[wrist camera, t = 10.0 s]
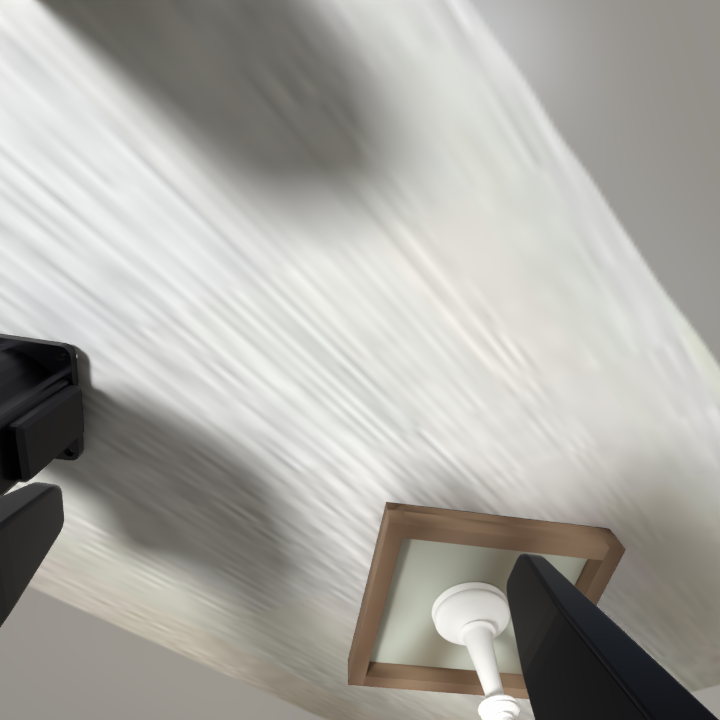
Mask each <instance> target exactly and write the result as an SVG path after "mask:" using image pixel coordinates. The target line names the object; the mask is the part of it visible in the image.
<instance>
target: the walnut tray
mask: <svg viewBox="0 0 720 720" xmlns="http://www.w3.org/2000/svg"><path fill="white" fill-rule="evenodd" d="M625 550H626V549H625V548H624V547H623V546H622V544H621V543H620V542H619V541H618V539H617V538H616V537H615V535H614V534H613V533H612V532H611V530H610V529H606V528H598V527H589V526H581V525H573V524H564V523H556V522H548V521H539V520H531V519H523V518H514V517H506V516H498V515H489V514H481V513H472V512H464V511H456V510H447V509H439V508H431V507H422V506H414V505H406V504H397V503H389V502H386V506H385V510H384V514H383V518H382V522H381V526H380V530H379V534H378V538H377V543H376V547H375V551H374V555H373V559H372V563H371V567H370V571H369V576H368V580H367V584H366V588H365V592H364V596H363V600H362V604H361V609H360V613H359V617H358V621H357V625H356V629H355V633H354V637H353V642H352V646H351V650H350V654H349V658H348V685H358V686H370V687H383V688H396V689H408V690H421V691H434V692H446V693H459V694H472V695H484V696H485V693H484V690H483V688H482V685H481V682H480V679H479V677H478V674H477V671H476V669H475V666H474V664H473V661H472V659H471V656H470V654H469V651H468V649H467V647H466V646H465V645H459V644H455V643H452V642H449V641H447V640H446V639H444V638H443V637H442V636H441V635H440V634H439V633H438V631H437V630H436V627H435V623H434V621H433V619H432V607H433V604H434V602H435V601H436V599H437V598H438V597H439V596H440V595H441V594H442V593H443V592H444V591H446V590H447V589H449V588H451V587H453V586H455V585H458V584H462V583H467V582H482V583H487V584H490V585H493V586H495V587H497V588H498V589H500V590H501V591H502V592H503V593H504V595H505V596H506V598H507V592H506V584H507V580H508V577H509V575H510V573H511V571H512V569H513V566H514V564H515V562H516V560H517V557H518V556H519V555H520V554H521V553H532V554H538V555H541V556H543V557H544V558H545V559H546V560H548V561H549V562H550V563H551V564H552V565H553V566H554V567H555V568H556V569H557V570H558V571H559V572H560V573H562V574H563V575H564V576H565V577H566V578H567V579H568V580H569V581H570V582H571V583H572V584H573V585H574V586H575V587H577V588H578V589H579V590H580V591H581V592H582V593H583V594H584V595H585V596H586V597H587V598H588V599H589V600H591V601H592V602H593V603H594V604H595V605H596V604H597V602H598V601H599V599H600V597H601V595H602V593H603V591H604V589H605V587H606V585H607V584H608V582H609V580H610V578H611V576H612V574H613V572H614V570H615V568H616V567H617V565H618V563H619V561H620V559H621V557H622V555H623V553H624V551H625ZM507 601H508V598H507ZM508 607H509V603H508ZM509 610H510V609H509ZM493 644H494V650H495V655H496V660H497V665H498V669H499V674H500V679H501V683H502V687H503V692H504V695H509V696H512V697H514V698H522V699H529V696H528V693H527V689H526V685H525V682H524V678H523V674H522V669H521V665H520V660H519V655H518V650H517V644H516V639H515V634H514V629H513V624H512V619H511V614H510V619H509V622H508V625H507V626H506V628H505V629H504V631H503V632H502V633H501V634H500V635H498V636H497V637H495V638H494V639H493Z"/></svg>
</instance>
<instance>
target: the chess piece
mask: <svg viewBox="0 0 720 720" xmlns="http://www.w3.org/2000/svg"><path fill="white" fill-rule="evenodd" d="M432 619H433V621H434V623H435V627H436V630H437V631H438V633H439V634H440V635H441V636H442V637H443V638H444V639H446V640H447V641H449V642H452V643H455V644H459V645H465V646H466V647H467V649H468V651H469V654H470V656H471V659H472V661H473V664H474V666H475V669H476V671H477V674H478V677H479V679H480V682H481V685H482V688H483V690H484V693H485V696H486V699H485V700H483V701H482V702H481V703H480V705H479V707H478V712H479V715H480V716H481V718H482V720H515V719H516V718H517V717H518V715H519V712H520V709H519V703H518V701H517V700H516V699H515V698H514V697H512V696H509V695H504V692H503V687H502V683H501V679H500V674H499V669H498V665H497V660H496V655H495V650H494V644H493V639H494V638H495V637H497V636H498V635H500V634H501V633H502V632H503V631H504V629H505V628H506V626H507V625H508V622H509V619H510V610H509V607H508V601H507V598H506V596H505V595H504V593H503V592H502V591H501V590H500V589H498V588H497V587H495V586H493V585H490V584H487V583H482V582H467V583H462V584H458V585H455V586H453V587H451V588H449V589H447V590H446V591H444V592H443V593H442V594H441V595H440V596H439V597H438V598H437V599H436V601H435V602H434V604H433V607H432Z"/></svg>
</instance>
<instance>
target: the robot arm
mask: <svg viewBox="0 0 720 720" xmlns="http://www.w3.org/2000/svg"><path fill="white" fill-rule="evenodd" d="M60 351H62V352H63V353H64V354H65V357H63V356H62V355H61V354H60ZM83 432H84V422H83V409H82V397H81V390H80V388H79V386H78V374H77V362H76V353H75V350H74V349H73V347H72V346H70V345H69V344H66V343H61V342H54V341H47V340H40V339H33V338H26V337H19V336H12V335H5V334H0V627H1V625H2V624H3V623H4V621H5V620H6V618H7V617H8V616H9V614H10V613H11V611H12V609H13V608H14V606H15V605H16V603H17V602H18V600H19V599H20V597H21V595H22V594H23V592H24V590H25V589H26V587H27V586H28V584H29V582H30V581H31V579H32V577H33V576H34V574H35V573H36V571H37V569H38V568H39V566H40V564H41V563H42V561H43V559H44V558H45V556H46V555H47V553H48V551H49V550H50V548H51V546H52V545H53V543H54V542H55V540H56V538H57V537H58V535H59V533H60V532H61V529H62V527H63V523H64V511H63V499H62V490H61V488H60V487H59V486H57V485H54V484H47V483H40V482H36V483H32V484H29V485H27V486H25V487H22V488H20V489H18V490H15V491H13V492H11V493H8V494H6V495H4V494H5V493H6V492H8V491H9V490H10V489H11V488H12V487H13V486H15V485H16V484H17V483H18V482H25V483H26V482H28V481H29V480H30V479H32V478H33V477H34V476H35V475H36V474H38V473H39V472H40V471H41V470H42V469H43V468H44V467H45V466H46V465H48V464H49V463H50V462H51V461H52V460H53V459H63V460H75V459H77V458H78V457H79V456H80V455H81V454H82V453H83V450H84V447H83V435H82V433H83ZM70 449H72V450H73V451H74V452H72V451H71V450H70ZM3 495H4V496H3ZM506 592H507V598H508V603H509V609H510V614H511V619H512V624H513V629H514V634H515V639H516V644H517V650H518V655H519V660H520V665H521V669H522V674H523V678H524V682H525V685H526V689H527V693H528V696H529V699H530V703H531V706H532V710H533V713H534V717H535V720H718V719H717V718H716V717H715V716H714V715H713V714H712V713H711V712H710V711H709V710H708V709H707V708H705V707H704V706H703V705H702V704H701V703H700V702H699V701H698V700H697V699H696V698H695V697H694V696H693V695H692V694H691V693H689V692H688V691H687V690H686V689H685V688H684V687H683V686H682V685H681V684H680V683H679V682H678V681H677V680H676V679H674V678H673V677H672V676H671V675H670V674H669V673H668V672H667V671H666V670H665V669H664V668H663V667H662V666H660V665H659V664H658V663H657V662H656V661H655V660H654V659H653V658H652V657H651V656H650V655H649V654H648V653H646V652H645V651H644V650H643V649H642V648H641V647H640V646H639V645H638V644H637V643H636V642H635V641H634V640H632V639H631V638H630V637H629V636H628V635H627V634H626V633H625V632H624V631H623V630H622V629H621V628H620V627H619V626H617V625H616V624H615V623H614V622H613V621H612V620H611V619H610V618H609V617H608V616H607V615H606V614H605V613H603V612H602V611H601V610H600V609H599V608H598V607H597V606H596V605H595V604H594V603H593V602H592V601H591V600H589V599H588V598H587V597H586V596H585V595H584V594H583V593H582V592H581V591H580V590H579V589H578V588H577V587H575V586H574V585H573V584H572V583H571V582H570V581H569V580H568V579H567V578H566V577H565V576H564V575H563V574H562V573H560V572H559V571H558V570H557V569H556V568H555V567H554V566H553V565H552V564H551V563H550V562H549V561H548V560H546V559H545V558H544V557H543V556H541V555H538V554H532V553H521V554H520V555H519V556H518V557H517V560H516V562H515V564H514V566H513V569H512V571H511V573H510V575H509V577H508V580H507V584H506Z"/></svg>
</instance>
